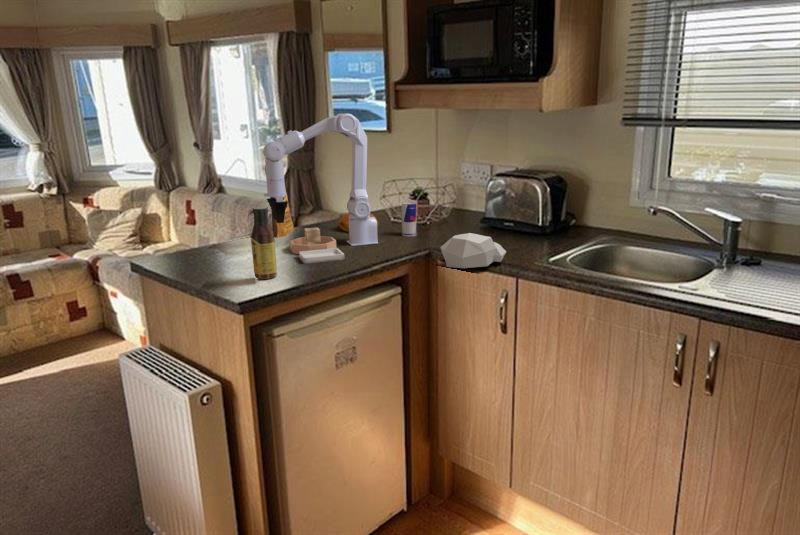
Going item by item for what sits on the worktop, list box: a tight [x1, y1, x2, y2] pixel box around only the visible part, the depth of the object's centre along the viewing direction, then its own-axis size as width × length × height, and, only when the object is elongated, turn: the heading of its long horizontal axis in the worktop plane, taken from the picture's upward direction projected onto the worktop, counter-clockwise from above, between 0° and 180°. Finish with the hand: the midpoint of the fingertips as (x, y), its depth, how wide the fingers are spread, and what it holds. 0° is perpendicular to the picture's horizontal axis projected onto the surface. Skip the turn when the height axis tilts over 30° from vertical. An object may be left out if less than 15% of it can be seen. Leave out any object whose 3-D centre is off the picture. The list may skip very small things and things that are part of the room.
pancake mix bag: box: [264, 164, 294, 239], centre depth 223 cm, size 7×19×28 cm, turn 172°
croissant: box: [337, 211, 379, 233], centre depth 230 cm, size 14×16×8 cm
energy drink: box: [401, 201, 418, 238], centre depth 219 cm, size 5×5×12 cm
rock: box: [440, 232, 507, 269], centre depth 178 cm, size 18×20×10 cm
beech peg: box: [304, 227, 321, 245], centre depth 201 cm, size 4×4×7 cm
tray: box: [298, 247, 346, 265], centre depth 189 cm, size 13×10×2 cm
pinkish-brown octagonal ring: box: [289, 235, 338, 255], centre depth 201 cm, size 15×15×3 cm
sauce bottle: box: [250, 205, 278, 280], centre depth 166 cm, size 6×6×20 cm
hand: (278, 221), depth 199 cm, fingers open, 7 cm apart
